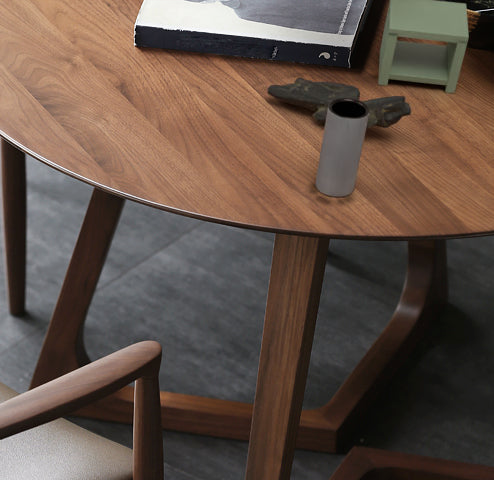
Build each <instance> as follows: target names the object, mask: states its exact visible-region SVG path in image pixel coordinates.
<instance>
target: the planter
mask: <svg viewBox="0 0 494 480" xmlns="http://www.w3.org/2000/svg"><path fill="white" fill-rule="evenodd" d="M359 100H360V99H359ZM359 100H356V99H351V98H340V99H336V100H333V101H332V102H331V103H330V104H329V106H328V111H327V117H326V123H325V124H324V130H323V134H322V140H321V146H320V153H319V157H318V163H317V171H316V176H315V183H314V184H315V187H316V189H317V190H318V191H319V192H320V193H321V194H323V195H326V196H328V197H334V198H342V197H343V198H344V197H347V196H349V195H351V194H352V193H353V192H354V190H355V187H356V182H357V176H358V171H359V166H360V161H361V156H362V151H363V146H364V141H365V138H366V137H365V136H366V131H367V128H366V127H367V122H368V117H369V108H368V106H367V105H366V104H365V103H363V102H361V101H362V100H360V101H359Z"/></svg>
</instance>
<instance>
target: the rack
mask: <svg viewBox="0 0 494 480" xmlns="http://www.w3.org/2000/svg"><path fill="white" fill-rule="evenodd" d="M398 37H399V38H408V39H417V40H427V41H435V42H436V41H437V42H445V43H446V45H442V44H441V45H440V44H434V43H433V44H432V43H424V42H423V43H422V42H415V41H406V40H398ZM469 37H470V36H469V22H468V10H467V3H464V2H463V3H462V2H454V1H453V2H452V1H443V0H389V3H388V8H387V13H386V18H385V23H384V28H383V33H382V39H381V43H380V49H379V60H378V62H379V63H378V64H379V65H378V79H377V81H378V82H377V85H378V86H388V84H389V80H395V81H403V82H404V81H405V82H412V83H422V84H430V85H438V86H439V85H440V86H444V92H445V93H448V94H455V92H456V89H457V84H458V81H459V78H460V73H461V69H462V64H463V61H464V57H465V54H466V53H465V52H466V49H467V46H468V41H469Z"/></svg>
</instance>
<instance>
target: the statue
mask: <svg viewBox="0 0 494 480" xmlns="http://www.w3.org/2000/svg"><path fill="white" fill-rule="evenodd" d="M267 95H269V96H271V97H273V98H274V99H277V100H279V101H281V102H284V103H287V104H291V105H295V106H299V107H302V108H305V109H308V110H310V111H311V112H314V113H313V114H312V117H313V119H315V121H316V122H318V123H320V124H324V125H325V123H326V117H327V111H328V106H329V104H330V103H331V102H332V101H333V100H336V99H340V98H351V99H356V100H359V101H361V102H363V103H365V104H366V105H367V106H368V108H369V117H368V122H367V127H366V129H369V128H373V127H378V128H383V129H386V128H389V127H391V126H393V125H395V124H397V123H398V122H399V121H401V119H402V118H403V117H406V116H411V114H412V108H411V105H410V103H408V102H406V96H405V95H403V96H402V95H393V96H383V97H376V98H371V99H367V100H363V101H362V100H360V97H361V91H360V89H359V88H358V87H356V86H355V85H350V84H345V83H341V82H334V81H312V80H310V79H306V78H304V77H301V76H300V77H297V78H296V79H295V80H294V82H293V83H292V82H291V83H287V84H282V85H281V84H270V85H269V86H268V88H267Z"/></svg>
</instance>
